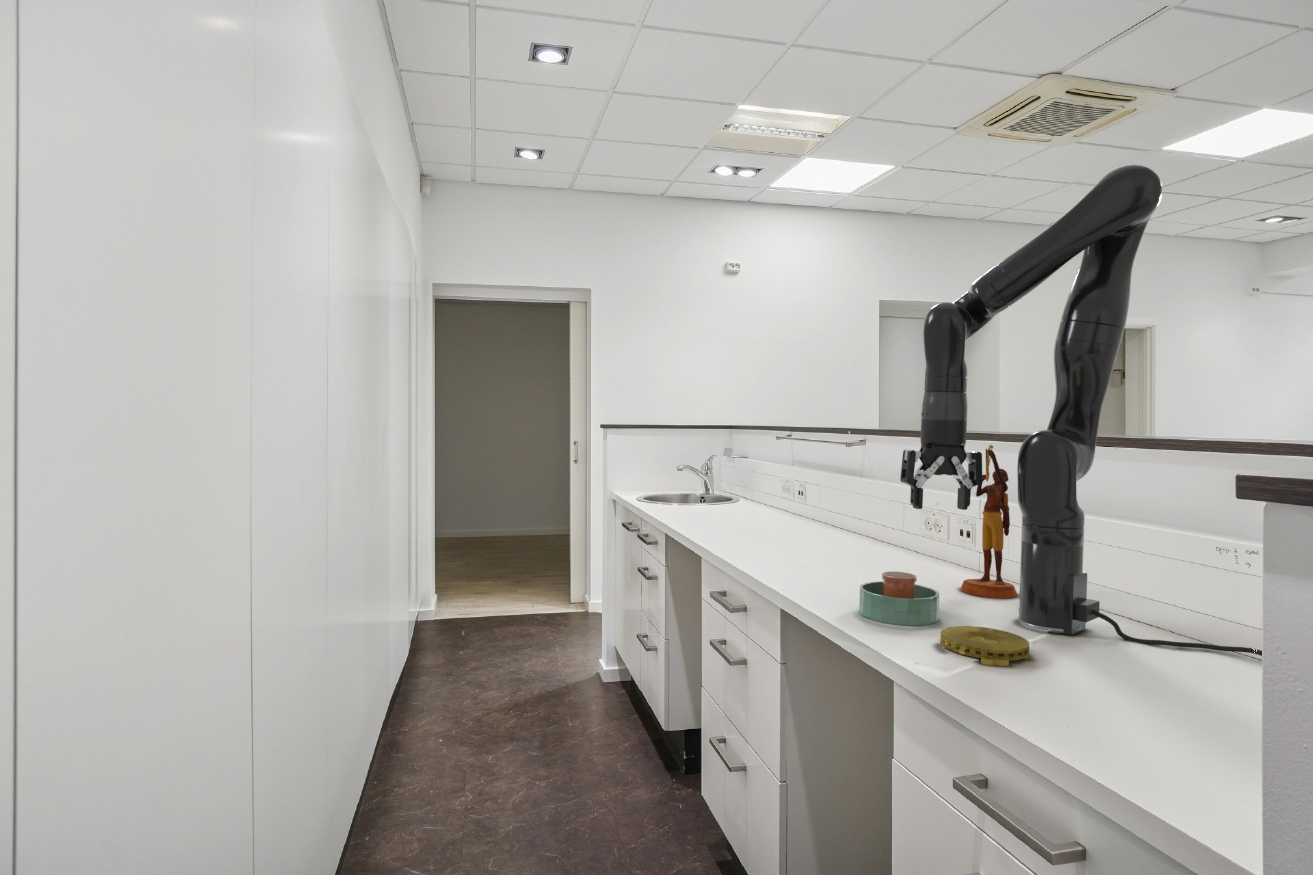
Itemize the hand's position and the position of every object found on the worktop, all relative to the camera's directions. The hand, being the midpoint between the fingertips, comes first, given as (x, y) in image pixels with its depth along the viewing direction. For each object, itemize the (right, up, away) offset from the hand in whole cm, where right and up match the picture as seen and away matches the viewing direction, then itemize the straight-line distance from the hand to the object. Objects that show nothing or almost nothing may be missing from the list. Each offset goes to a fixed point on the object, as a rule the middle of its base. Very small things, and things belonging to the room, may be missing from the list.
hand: (940, 508), depth 127 cm
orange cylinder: (-9, -18, -3) cm, 20 cm away
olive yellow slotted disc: (-2, -19, -21) cm, 29 cm away
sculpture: (+17, -19, +18) cm, 31 cm away
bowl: (-9, -19, -3) cm, 21 cm away
